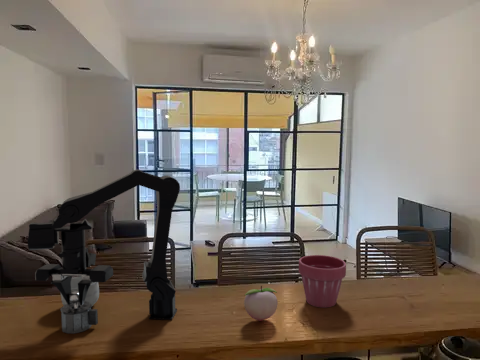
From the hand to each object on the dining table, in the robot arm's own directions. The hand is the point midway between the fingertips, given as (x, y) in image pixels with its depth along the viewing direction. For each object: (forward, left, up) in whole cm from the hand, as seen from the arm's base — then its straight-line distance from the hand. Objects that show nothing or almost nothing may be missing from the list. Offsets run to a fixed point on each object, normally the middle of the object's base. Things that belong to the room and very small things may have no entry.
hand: (76, 304), depth 105 cm
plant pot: (-67, -22, -6) cm, 71 cm away
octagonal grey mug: (0, 0, -6) cm, 6 cm away
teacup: (+5, -14, -6) cm, 16 cm away
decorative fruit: (-49, -7, -6) cm, 50 cm away
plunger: (0, 0, -5) cm, 5 cm away
